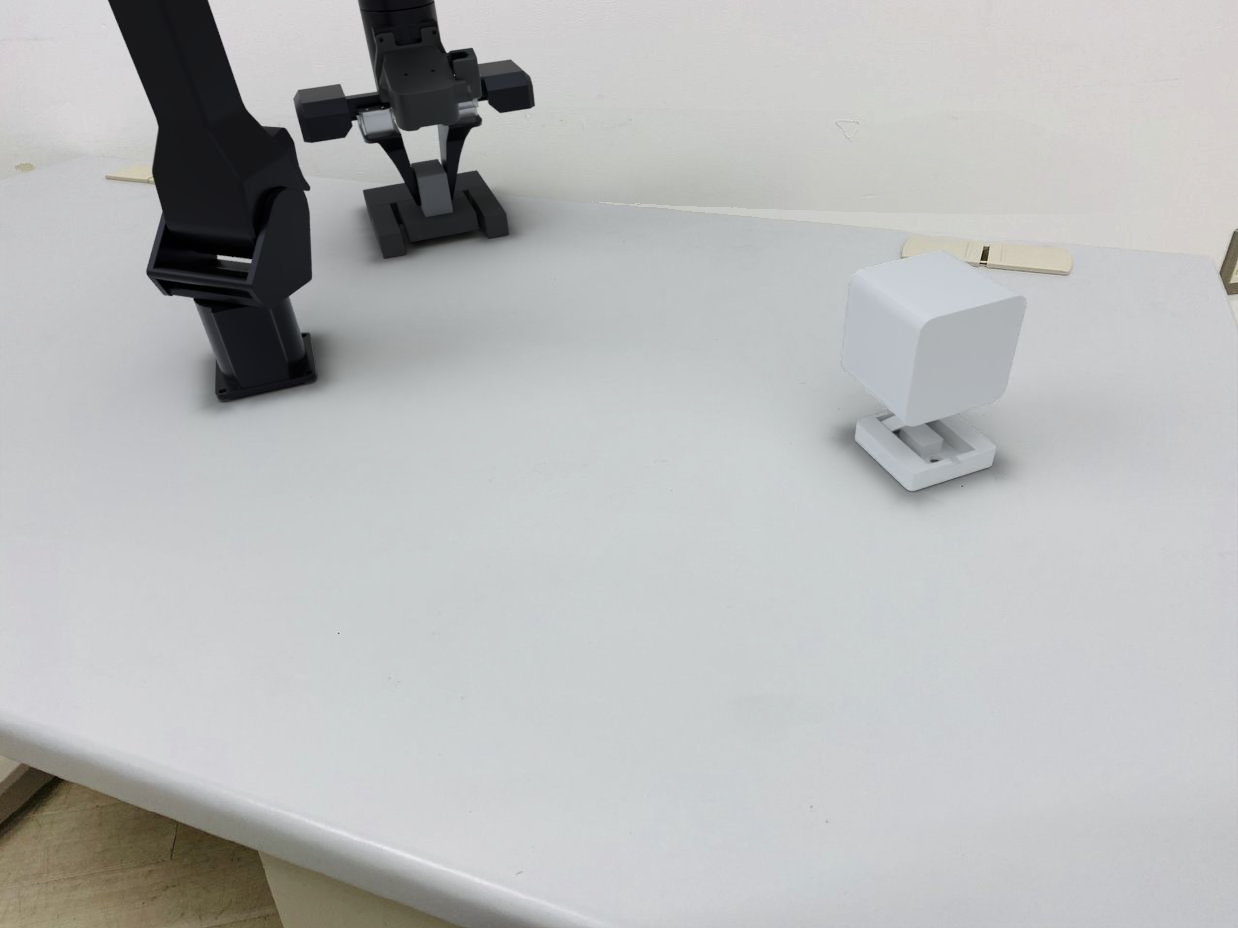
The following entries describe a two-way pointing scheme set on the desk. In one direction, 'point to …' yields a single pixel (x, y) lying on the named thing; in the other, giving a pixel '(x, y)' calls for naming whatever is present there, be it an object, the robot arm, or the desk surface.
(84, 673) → the desk surface
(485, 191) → the black flat u-shaped piece
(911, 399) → the security camera
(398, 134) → the robot arm
